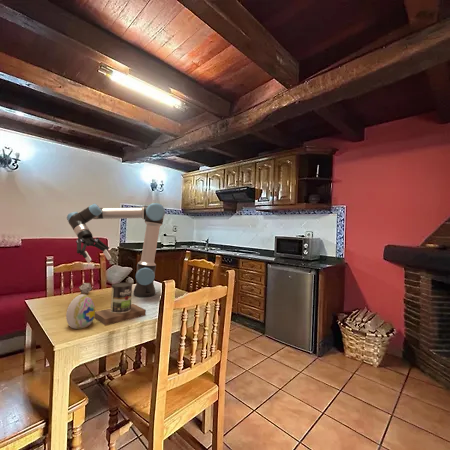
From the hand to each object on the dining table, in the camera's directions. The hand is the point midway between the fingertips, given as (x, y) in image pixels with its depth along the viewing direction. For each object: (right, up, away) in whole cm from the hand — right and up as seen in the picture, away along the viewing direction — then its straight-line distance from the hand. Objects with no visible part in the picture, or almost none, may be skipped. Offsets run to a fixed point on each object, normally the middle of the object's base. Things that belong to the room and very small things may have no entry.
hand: (100, 260), depth 151 cm
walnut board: (+16, -29, -11) cm, 35 cm away
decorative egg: (+3, -28, -26) cm, 38 cm away
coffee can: (+16, -26, -11) cm, 33 cm away
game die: (-24, -28, +29) cm, 46 cm away
